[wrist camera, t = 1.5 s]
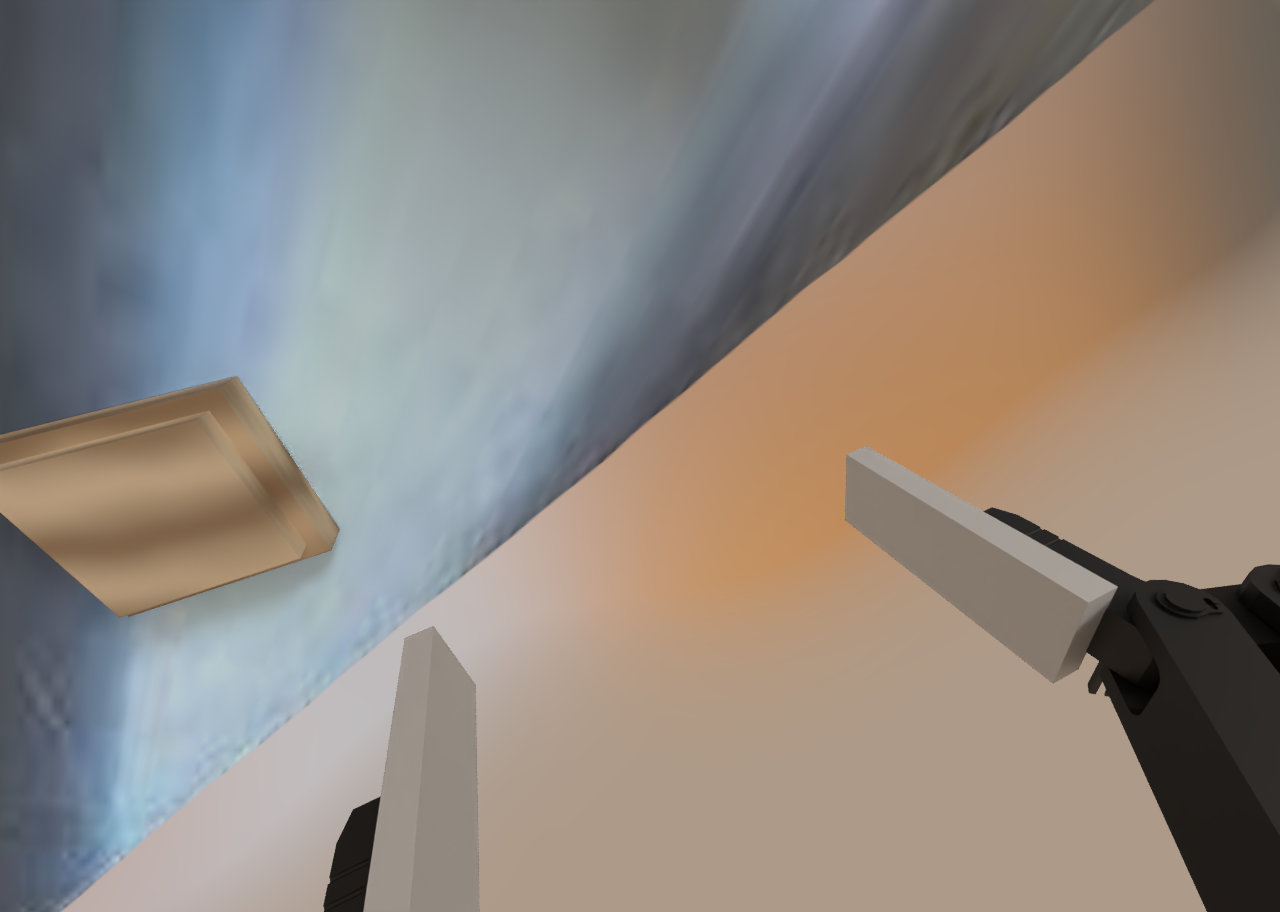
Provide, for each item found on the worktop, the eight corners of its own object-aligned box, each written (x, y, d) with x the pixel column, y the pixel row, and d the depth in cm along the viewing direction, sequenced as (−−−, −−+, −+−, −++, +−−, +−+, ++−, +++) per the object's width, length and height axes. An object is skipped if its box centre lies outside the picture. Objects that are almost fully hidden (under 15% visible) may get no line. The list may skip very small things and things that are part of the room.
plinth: (-7, 436, 25) (-82, 470, 21) (237, 376, 27) (204, 397, 24) (151, 589, 31) (113, 634, 27) (339, 529, 33) (325, 564, 30)
